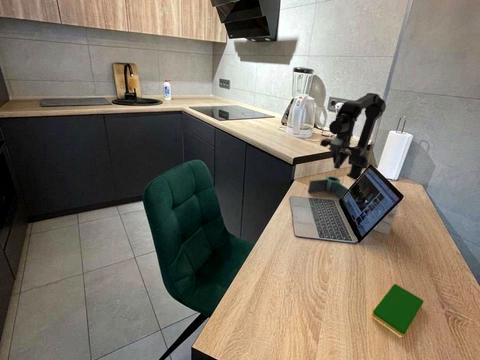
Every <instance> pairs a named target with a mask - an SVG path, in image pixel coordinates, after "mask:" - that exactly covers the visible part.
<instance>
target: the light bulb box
mask: <svg viewBox="0 0 480 360" xmlns="http://www.w3.org/2000/svg"><path fill="white" fill-rule="evenodd" d="M367 202H368V201H367V200H366V199H365V202H364V204H365V203H367ZM398 207H399V204H398V205H397V206H396V207H395V208H394V209H393V210H392V211H391V212H390V213H389V214H388V215H387V216H386V217H385V218H384V219H383V220H382V221H381V222H380V223H379V224H378V225H377V227H376V228H375V229H374V230H373V231H376V232H378V233H382V234H384V235H388V236H389V235H390V232H391V229H392V227H393V223H394V220H395V219H396V215H397V212H398Z"/></svg>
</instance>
